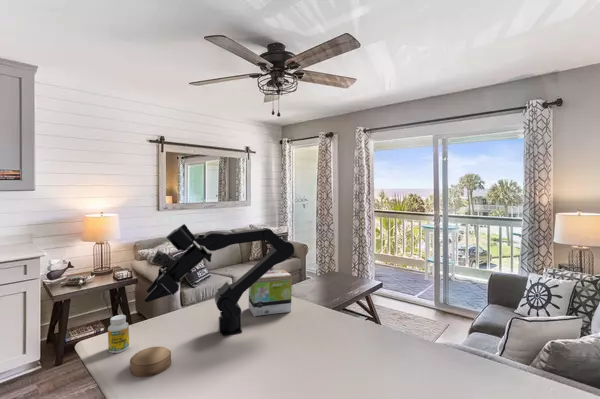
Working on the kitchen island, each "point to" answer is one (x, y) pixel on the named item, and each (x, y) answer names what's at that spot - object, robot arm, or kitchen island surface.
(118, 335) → the supplement bottle
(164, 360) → the pedestal
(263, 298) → the tea box
